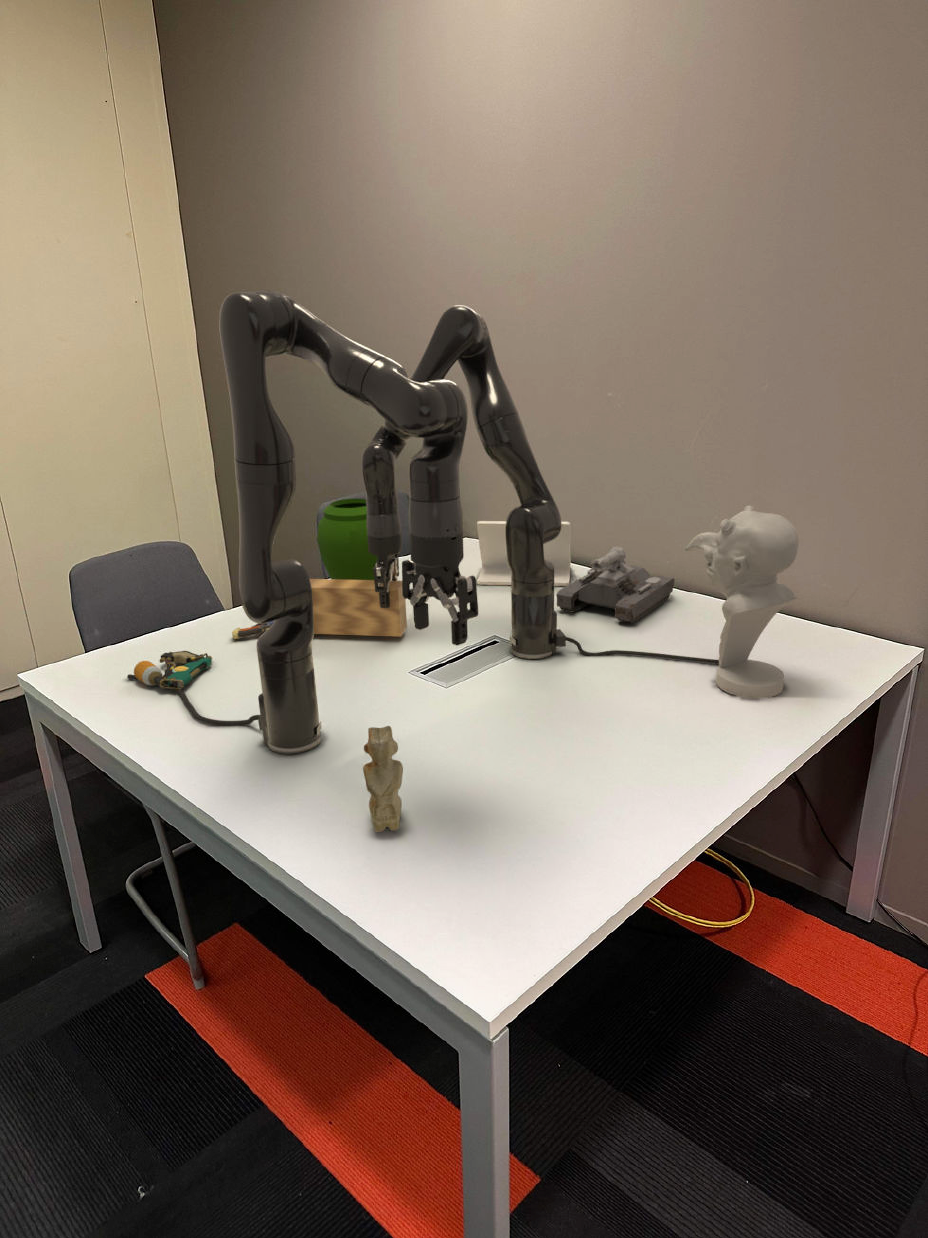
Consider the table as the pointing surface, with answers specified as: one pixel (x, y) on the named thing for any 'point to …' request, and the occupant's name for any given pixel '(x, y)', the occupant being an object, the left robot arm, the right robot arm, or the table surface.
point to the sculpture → (383, 778)
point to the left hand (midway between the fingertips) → (440, 635)
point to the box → (357, 608)
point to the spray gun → (172, 669)
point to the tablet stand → (496, 554)
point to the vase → (346, 541)
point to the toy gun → (251, 630)
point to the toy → (616, 588)
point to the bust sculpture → (748, 593)
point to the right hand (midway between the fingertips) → (388, 602)
